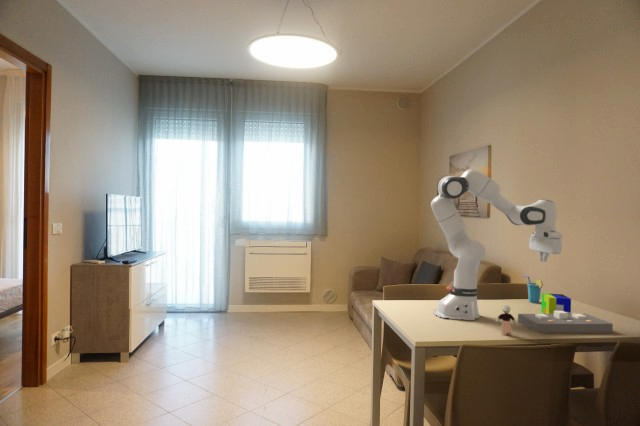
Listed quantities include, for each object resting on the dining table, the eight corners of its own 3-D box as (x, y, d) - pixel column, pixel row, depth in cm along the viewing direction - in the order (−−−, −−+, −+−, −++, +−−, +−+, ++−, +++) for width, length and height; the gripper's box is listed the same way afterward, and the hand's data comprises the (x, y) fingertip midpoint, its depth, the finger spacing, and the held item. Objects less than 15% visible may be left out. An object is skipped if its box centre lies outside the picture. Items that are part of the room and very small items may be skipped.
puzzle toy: (570, 318, 195) (571, 298, 195) (548, 317, 197) (549, 297, 197) (562, 313, 205) (562, 294, 205) (541, 312, 207) (542, 293, 207)
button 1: (540, 322, 180) (540, 316, 180) (535, 320, 184) (535, 313, 184) (548, 322, 180) (548, 316, 180) (543, 320, 184) (543, 313, 184)
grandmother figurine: (511, 333, 171) (512, 304, 171) (516, 336, 167) (517, 306, 167) (494, 333, 171) (495, 304, 170) (498, 335, 167) (499, 306, 166)
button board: (538, 332, 172) (538, 323, 172) (517, 322, 188) (518, 313, 188) (612, 332, 174) (612, 323, 174) (585, 322, 190) (586, 313, 190)
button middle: (559, 319, 180) (559, 312, 180) (553, 316, 184) (553, 310, 184) (567, 319, 181) (567, 312, 181) (561, 316, 185) (561, 310, 185)
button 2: (577, 322, 181) (578, 316, 181) (571, 320, 185) (572, 313, 185) (586, 322, 181) (586, 316, 181) (580, 320, 185) (580, 313, 185)
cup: (517, 299, 234) (518, 274, 234) (526, 298, 237) (527, 273, 237) (539, 305, 221) (539, 278, 221) (548, 304, 224) (548, 278, 224)
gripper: (526, 231, 201) (524, 258, 201) (551, 234, 181) (550, 264, 181) (538, 231, 201) (536, 258, 202) (565, 235, 181) (563, 264, 181)
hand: (543, 261), depth 191 cm, fingers closed
